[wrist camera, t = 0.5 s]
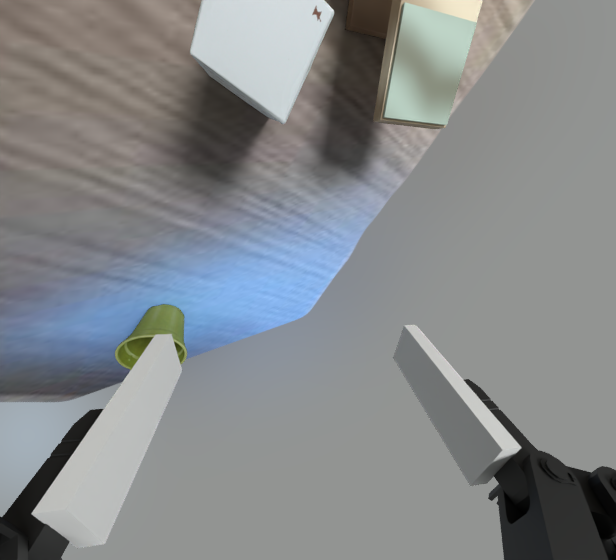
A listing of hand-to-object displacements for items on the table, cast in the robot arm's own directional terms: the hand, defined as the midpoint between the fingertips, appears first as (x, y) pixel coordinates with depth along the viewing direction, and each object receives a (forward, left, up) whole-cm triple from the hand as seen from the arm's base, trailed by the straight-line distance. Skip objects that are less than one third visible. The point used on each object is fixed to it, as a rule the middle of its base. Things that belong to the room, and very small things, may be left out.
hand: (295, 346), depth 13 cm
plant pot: (+2, -27, -26) cm, 38 cm away
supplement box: (-11, +11, -26) cm, 30 cm away
